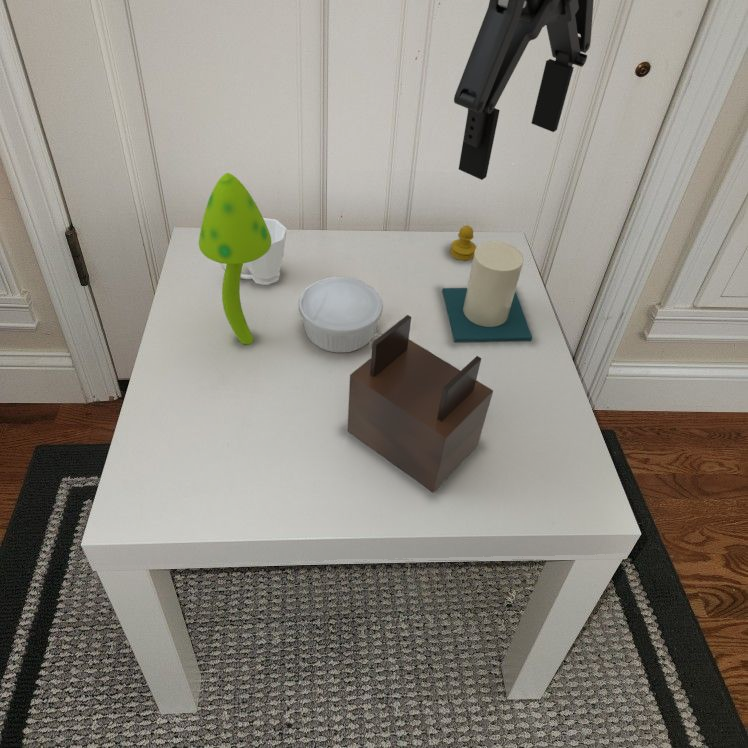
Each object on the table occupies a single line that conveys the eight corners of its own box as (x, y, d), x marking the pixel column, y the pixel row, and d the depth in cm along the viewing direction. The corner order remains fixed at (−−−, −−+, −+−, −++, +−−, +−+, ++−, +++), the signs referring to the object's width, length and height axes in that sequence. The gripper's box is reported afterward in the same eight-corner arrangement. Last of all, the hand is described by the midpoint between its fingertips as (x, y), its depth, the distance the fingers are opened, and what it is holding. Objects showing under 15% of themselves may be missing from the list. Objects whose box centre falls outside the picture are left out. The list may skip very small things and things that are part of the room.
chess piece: (448, 245, 107) (453, 219, 103) (472, 245, 107) (477, 219, 103) (452, 260, 104) (456, 234, 100) (476, 260, 104) (482, 234, 101)
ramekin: (291, 311, 94) (290, 282, 90) (366, 299, 96) (368, 270, 93) (310, 366, 86) (309, 337, 83) (390, 351, 89) (393, 322, 85)
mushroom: (273, 363, 86) (260, 196, 68) (209, 359, 86) (178, 190, 68) (281, 321, 92) (272, 156, 74) (221, 316, 92) (197, 150, 74)
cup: (292, 287, 97) (291, 242, 91) (224, 296, 95) (217, 250, 89) (284, 259, 102) (282, 214, 96) (219, 266, 100) (212, 221, 94)
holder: (477, 445, 79) (502, 358, 68) (433, 493, 74) (452, 406, 63) (394, 390, 84) (404, 301, 73) (347, 431, 79) (351, 342, 68)
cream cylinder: (517, 311, 95) (533, 255, 88) (492, 333, 92) (506, 277, 85) (479, 290, 98) (491, 234, 91) (453, 312, 95) (464, 255, 87)
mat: (513, 290, 100) (514, 287, 99) (531, 340, 92) (532, 337, 92) (442, 291, 99) (442, 287, 98) (454, 342, 91) (454, 339, 91)
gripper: (597, -134, 59) (540, 98, 75) (432, -95, 46) (404, 180, 61) (676, -118, 56) (600, 121, 72) (525, -71, 42) (471, 212, 58)
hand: (510, 149), depth 66 cm, fingers open, 13 cm apart
